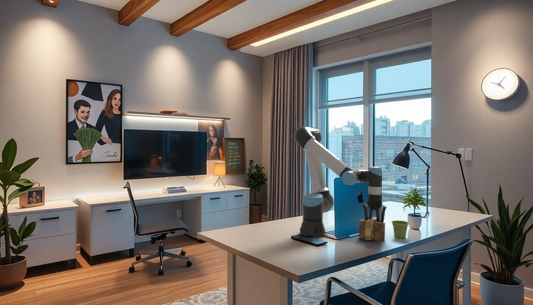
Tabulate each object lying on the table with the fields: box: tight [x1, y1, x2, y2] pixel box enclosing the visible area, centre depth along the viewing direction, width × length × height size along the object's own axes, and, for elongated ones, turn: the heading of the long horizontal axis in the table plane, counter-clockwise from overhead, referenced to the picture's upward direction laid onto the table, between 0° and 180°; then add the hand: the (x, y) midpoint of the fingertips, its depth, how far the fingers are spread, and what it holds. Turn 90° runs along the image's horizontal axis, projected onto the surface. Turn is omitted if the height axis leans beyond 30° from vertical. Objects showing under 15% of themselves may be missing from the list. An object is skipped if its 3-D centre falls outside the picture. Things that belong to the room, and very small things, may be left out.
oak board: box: [364, 216, 377, 241], centre depth 200 cm, size 14×3×10 cm, turn 146°
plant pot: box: [391, 220, 410, 239], centre depth 205 cm, size 9×9×9 cm
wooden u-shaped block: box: [358, 219, 386, 242], centre depth 200 cm, size 14×2×10 cm, turn 56°
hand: (374, 234), depth 204 cm, fingers closed on oak board, 3 cm apart
